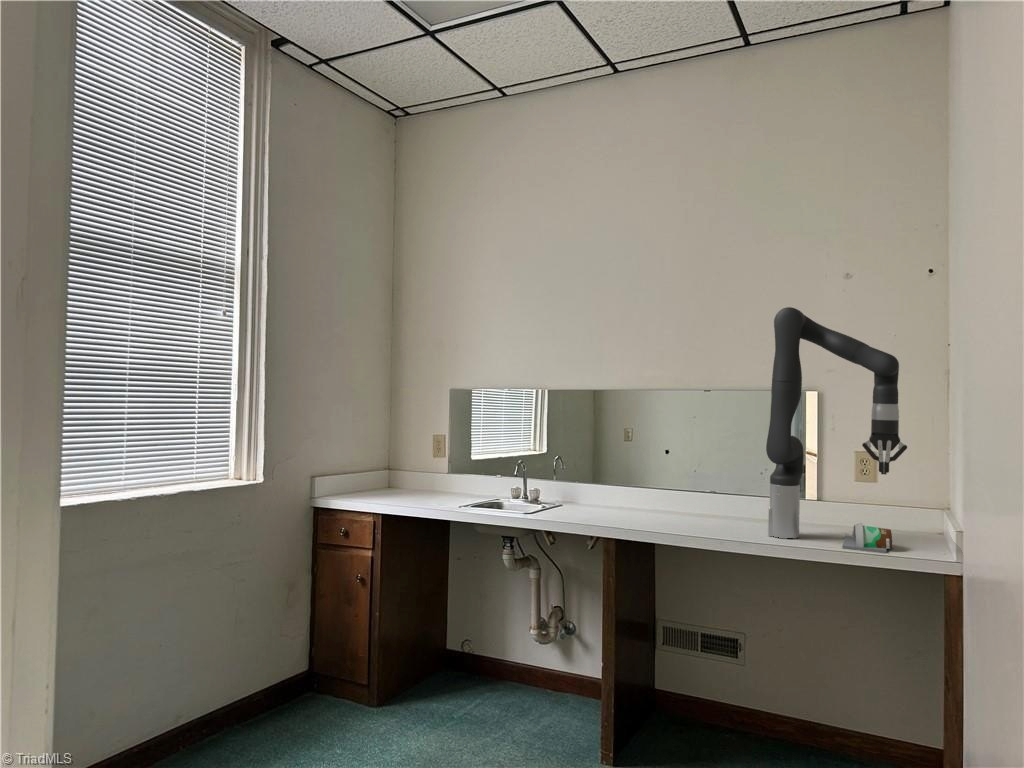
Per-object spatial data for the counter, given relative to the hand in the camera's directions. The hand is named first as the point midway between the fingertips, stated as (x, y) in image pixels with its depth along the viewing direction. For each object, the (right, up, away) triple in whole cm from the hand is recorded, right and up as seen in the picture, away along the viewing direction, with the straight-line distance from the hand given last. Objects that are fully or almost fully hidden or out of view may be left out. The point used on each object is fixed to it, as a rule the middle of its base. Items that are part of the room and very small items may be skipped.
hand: (883, 474), depth 220 cm
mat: (-5, -23, +2) cm, 23 cm away
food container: (+2, -19, -1) cm, 19 cm away
